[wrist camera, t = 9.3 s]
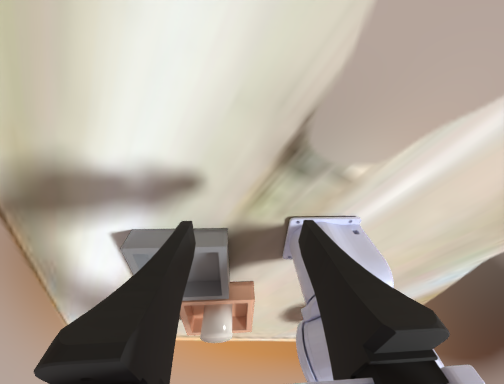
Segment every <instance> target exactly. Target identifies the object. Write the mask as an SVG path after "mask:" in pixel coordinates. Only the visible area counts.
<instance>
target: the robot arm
mask: <svg viewBox="0 0 504 384" xmlns="http://www.w3.org/2000/svg"><path fill="white" fill-rule="evenodd" d="M296 221H298V222H296ZM360 222H361V219H360V218H359V217H300V218H291V219H290V221H289V226H288V231H287V236H286V241H285V245H284V250H283V255H282V256H283V259H293V262H294V265H295V269H296V272H297V276H298V280H299V283H300V287H301V290H302V294H303V297H304V301H305V305H306V307H304V308H302V309H301V313H302V316H303V320H302V321H300V322H299V324H298V327H297V335H296V346H297V353H298V358H299V361H300V364H301V368H302V371H303V373H304V376H305V378H306V380H307V382H308V383H295V384H485V382H484V381H483V380H482V379H481V377H480V376H479V375H478V373H477V372H476V371H475V369H474V368H473V367H472V366H471V365H457V366H447V367H444V365H443V363H442V362H441V360H440V359H439V357H438V355H437V354H436V352H435V351H434V349H433V348H435V347H436V346H438V345H439V344H441V343H442V342H444V341H445V340H446V339H448V337H449V334H450V333H449V331H448V330H447V328H446V327H445V326H444V324H443V323H442V322H441V321H440V319H439V318H438V317H437V315H436V314H435V313H434V312H433V311H432V310H431V309H429V308H427V307H425V306H424V305H422V304H420V303H418V302H416V301H414V300H413V299H411V298H409V297H407V296H406V295H404V294H402V293H401V292H399V291H397V290H396V289H394V281H393V276H392V273H391V270H390V267H389V265H388V263H387V261H386V260H385V258H384V257H383V256H382V254H381V253H380V252H379V250H378V249H377V248H376V246H375V245H374V244H373V242H372V241H371V240H370V238H369V237H368V236H367V234H366V233H365V232H364V230H363V229H362V228H361V226H360ZM195 246H196V241H195V236H194V230H193V224H192V221H182V222H181V223H180V224H179V225H178V227H177V228H176V229H175V230H174V232H173V233H172V234H171V236H170V237H169V238H168V239H167V241H166V242H165V243H164V244H163V245H162V247H161V248H160V249H159V250H158V251H157V252H156V253H155V254H154V255H153V257H152V258H151V259H150V260H149V261H148V262H147V263H146V264H145V265H144V266H143V267H142V268H141V269H140V270H139V271H138V272H137V273H136V274H134V275H133V276H132V277H131V278H130V279H129V280H128V281H127V282H125V283H124V284H123V285H122V286H121V287H120V288H118V289H117V290H116V291H115V292H113V293H112V294H111V295H109V296H108V297H107V298H106V299H104V300H103V301H102V302H100V303H99V304H98V305H96V306H95V307H94V308H92V309H91V310H89V311H88V312H87V313H85V314H84V315H82V316H81V317H79V318H78V319H76V320H75V321H73V322H72V323H70V324H69V325H67V326H66V327H64V328H63V329H61V330H60V332H59V333H58V335H57V336H56V337H55V339H54V340H53V342H52V343H51V345H50V346H49V348H48V349H47V351H46V353H45V354H44V356H43V357H42V359H41V360H40V362H39V363H38V365H37V367H36V368H35V369H34V373H35V376H36V377H38V378H39V379H41V380H43V381H45V382H47V383H49V384H169V383H170V375H171V368H172V361H173V353H174V346H175V340H176V334H177V328H178V322H179V316H180V310H181V305H182V300H183V295H184V291H185V288H186V284H187V281H188V277H189V273H190V270H191V266H192V262H193V259H194V252H195Z"/></svg>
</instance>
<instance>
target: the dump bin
mask: <svg viewBox="0 0 504 384" xmlns="http://www.w3.org/2000/svg"><path fill="white" fill-rule="evenodd" d="M254 302H255V296H254V283H253V281H250V282H229V299H215V300H191V301H182V305H181V310H180V316H181V319H182V322H183V325H184V327H185V330H186V333H187V335H201V328H202V320H203V312H204V305H214V304H233V307H232V333H240V332H252V322H253V312H254Z"/></svg>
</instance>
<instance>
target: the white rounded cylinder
mask: <svg viewBox="0 0 504 384" xmlns="http://www.w3.org/2000/svg"><path fill="white" fill-rule="evenodd" d="M232 307H233V304H214V305H204V312H203V320H202V328H201V336H200V339H201V340H202V341H204V342H208V343H220V342H225V341H228V340H230V339H231V338H232Z"/></svg>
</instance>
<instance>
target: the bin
mask: <svg viewBox="0 0 504 384" xmlns="http://www.w3.org/2000/svg"><path fill="white" fill-rule="evenodd" d="M174 230H175V229H142V230H132V231H131V232H130V234H129V235H128V237H127V239H126V240H125V242H124V243H123V245H122V247H121V248H120V249H121V251H122V253H123V255H124V257H125V259H126V261H127V263H128V265H129V267H130V269H131V271H132V273H133V275H134V274H136V273H137V272H138V271H139V270H140V269H141V268H142V267H143V266H144V265H145V264H146V263H147V262H148V261H149V260H150V259H151V258H152V257H153V255H154V254H155V253H156V252H157V251H158V250H159V249H160V248H161V247H162V245H163V244H164V243H165V242H166V241H167V239H168V238H169V237H170V236H171V234H172V233H173V232H174ZM193 230H194V236H195V241H196V246H195V252H194V259H193V262H192V266H191V270H190V273H189V277H188V281H187V284H186V288H185V291H184V295H183V300H182V301H191V300H215V299H229V282H230V279H229V252H228V228H217V229H193Z"/></svg>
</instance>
